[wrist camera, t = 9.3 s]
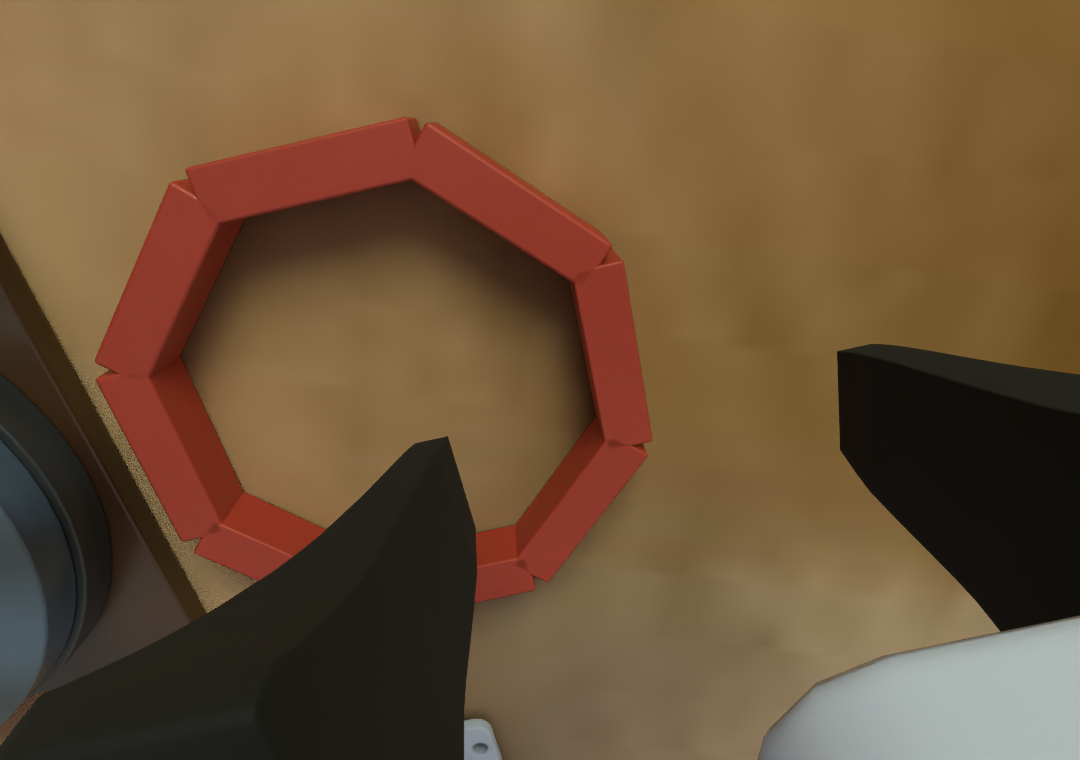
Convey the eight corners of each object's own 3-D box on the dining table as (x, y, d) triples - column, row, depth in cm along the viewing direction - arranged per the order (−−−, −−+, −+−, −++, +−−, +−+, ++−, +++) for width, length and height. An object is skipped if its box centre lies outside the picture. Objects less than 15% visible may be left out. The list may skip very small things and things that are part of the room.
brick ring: (659, 527, 19) (672, 562, 17) (259, 612, 19) (239, 653, 18) (583, 78, 14) (593, 72, 13) (54, 201, 14) (2, 210, 13)
